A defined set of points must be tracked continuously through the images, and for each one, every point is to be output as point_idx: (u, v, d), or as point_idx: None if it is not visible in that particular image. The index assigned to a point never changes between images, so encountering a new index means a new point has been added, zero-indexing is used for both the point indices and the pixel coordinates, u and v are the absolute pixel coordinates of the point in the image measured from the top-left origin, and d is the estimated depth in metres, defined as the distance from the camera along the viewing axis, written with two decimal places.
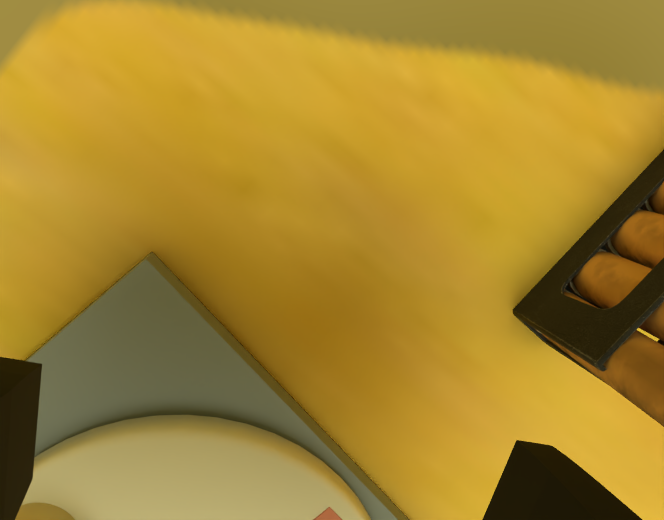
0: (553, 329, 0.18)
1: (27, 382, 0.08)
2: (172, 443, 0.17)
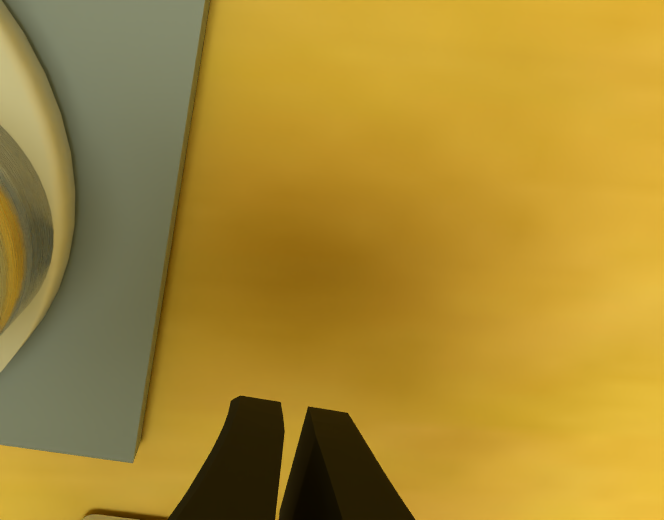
0: None
1: (281, 421, 0.08)
2: None
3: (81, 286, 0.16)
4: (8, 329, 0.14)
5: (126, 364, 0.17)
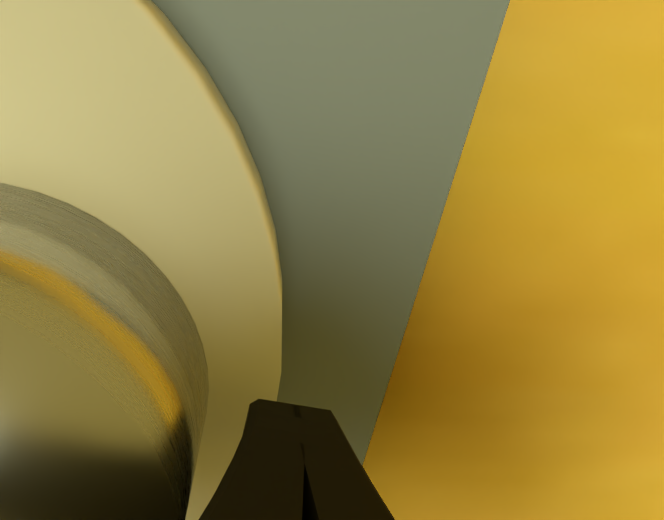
0: None
1: (300, 424, 0.08)
2: None
3: None
4: None
5: None
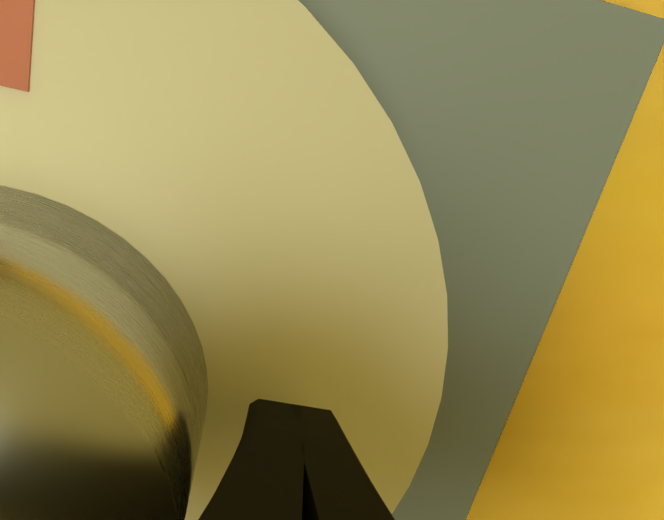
0: None
1: (300, 424, 0.08)
2: None
3: None
4: None
5: None
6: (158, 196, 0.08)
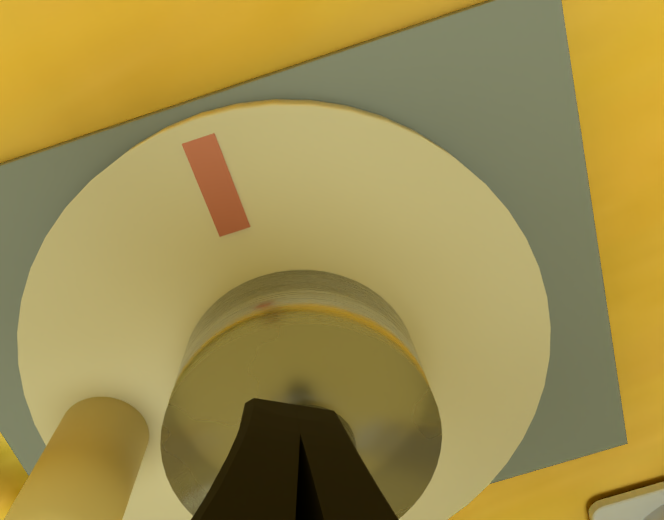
0: None
1: (295, 423, 0.08)
2: (34, 277, 0.15)
3: None
4: (530, 378, 0.17)
5: (596, 365, 0.19)
6: (331, 241, 0.15)
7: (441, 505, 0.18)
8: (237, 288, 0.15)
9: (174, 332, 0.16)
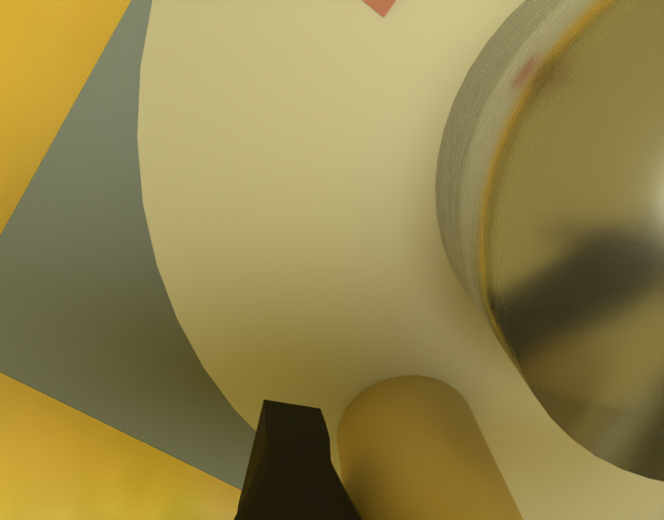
0: None
1: (323, 428, 0.08)
2: (171, 274, 0.09)
3: None
4: None
5: None
6: None
7: None
8: (464, 85, 0.08)
9: (410, 227, 0.09)
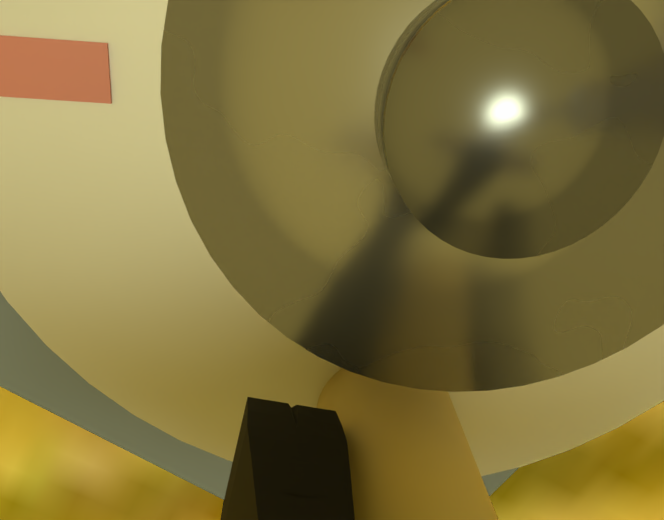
0: None
1: (339, 430, 0.08)
2: (105, 384, 0.10)
3: None
4: None
5: None
6: None
7: None
8: None
9: None
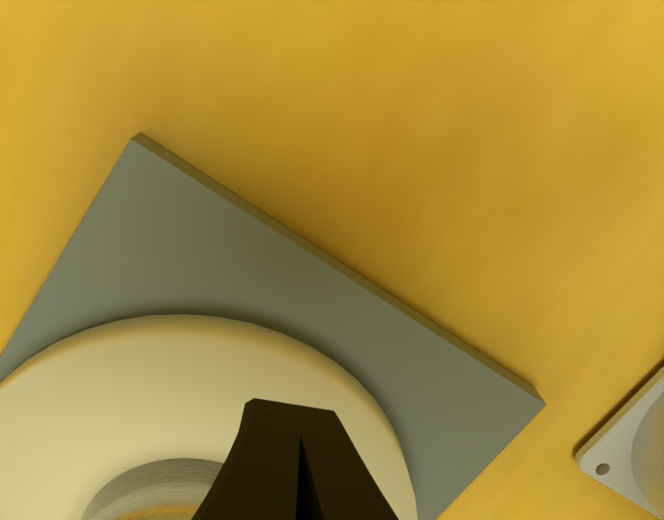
0: None
1: (295, 423, 0.08)
2: None
3: (370, 367, 0.18)
4: (267, 369, 0.16)
5: (453, 367, 0.19)
6: (61, 492, 0.17)
7: (386, 472, 0.18)
8: None
9: None
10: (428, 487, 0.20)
